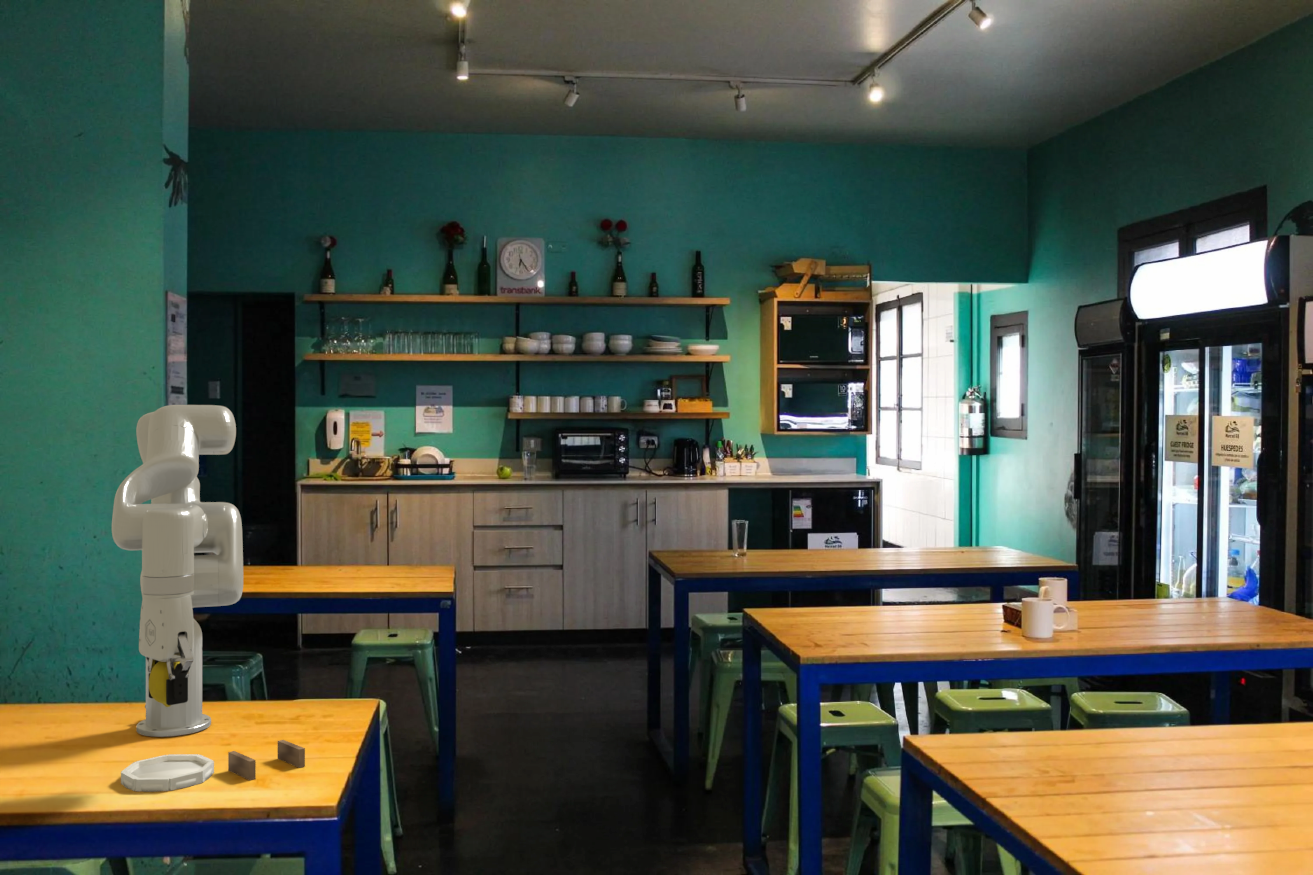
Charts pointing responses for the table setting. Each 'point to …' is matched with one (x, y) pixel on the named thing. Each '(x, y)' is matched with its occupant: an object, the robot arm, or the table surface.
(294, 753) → the rack
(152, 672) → the lemon
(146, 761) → the saucer
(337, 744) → the table surface
